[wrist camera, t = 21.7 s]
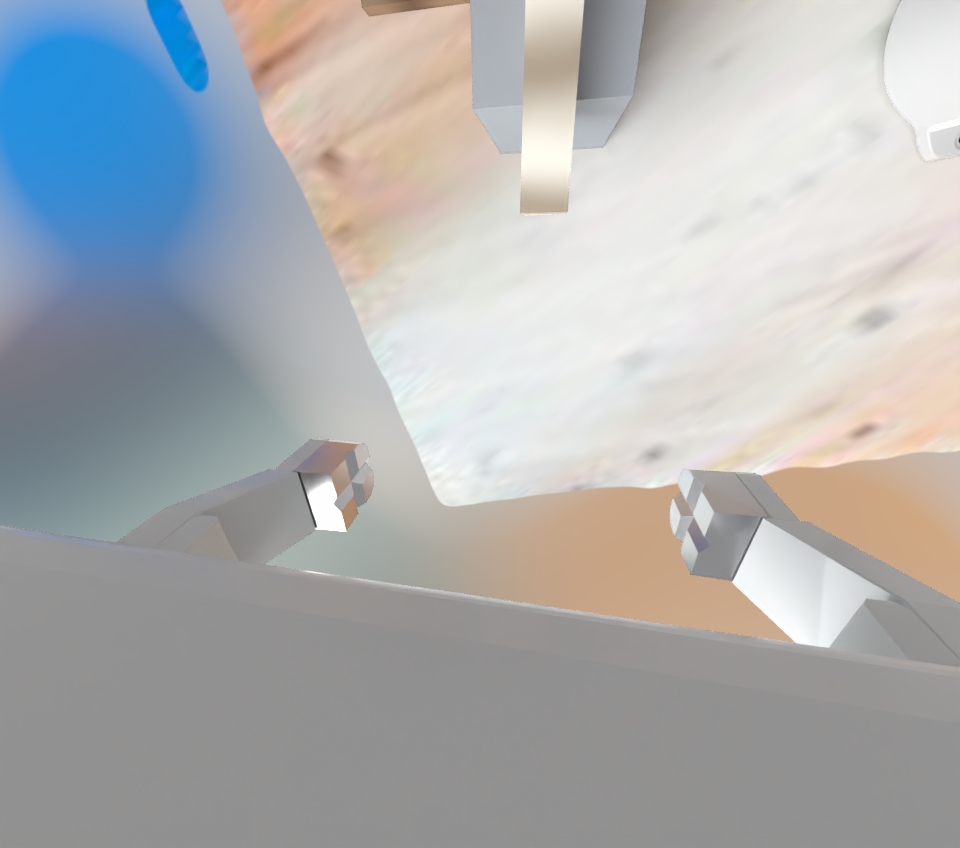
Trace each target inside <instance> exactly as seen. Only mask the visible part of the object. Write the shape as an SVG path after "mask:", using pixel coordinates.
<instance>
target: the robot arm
mask: <svg viewBox="0 0 960 848" xmlns="http://www.w3.org/2000/svg"><path fill="white" fill-rule="evenodd" d="M884 80H885V86H886V90H887V93H888V96H889V98H890V100H891V102H892V104H893V105H894V107H895V108H896V110H897V111H898V112H899V113H900V114H901V115H902V116H903V117H904V118H905V119H906V120H907V121H908V122H909V123H910V124H911V125H912V127H913V128H914V130H915V136H916V142H917V147H918V151H919V153H920V156H921V157H922V158H923V159H924V160H925V161H937V160H942V159H946V158H950V157H955V156H959V155H960V143H959V137H960V0H901V1H900V3H899V6H898V8H897V10H896V13H895V15H894V18H893V21H892V24H891V27H890V30H889V34H888V37H887V42H886V47H885V53H884ZM369 457H370V456H369V451H368V447H367V446H366V445H365V444H364V443H357V442H347V441H338V440H329V439H310V440H309V441H308V442H307V443H305V444H304V445H303V446H302V447H300V448H299V449H298V450H297V451H296V452H295V453H293V454H292V455H291V456H290V457H289V458H287V459H286V460H285V461H284V462H283V463H282V464H281V465H279V466H278V467H277V468H276V469H274V470H266V471H263V472H261V473H258V474H255V475H252V476H250V477H247V478H244V479H242V480H239V481H236V482H234V483H231V484H228V485H226V486H223V487H220V488H217V489H215V490H212V491H209V492H207V493H204V494H201V495H199V496H196V497H193V498H191V499H188V500H186V501H183V502H180V503H177V504H175V505H172V506H169V507H167V508H164V509H163V510H161V511H160V512H158V513H157V514H155V515H154V516H153V517H151V518H150V519H148V520H147V521H146V522H144V523H143V524H141V525H140V526H138V527H137V528H136V529H134V530H133V531H131V532H130V533H128V534H127V535H126V536H124V537H123V538H121V539H120V540H119V541H117V542H109V541H102V540H95V539H89V538H82V537H75V536H68V535H62V534H55V533H48V532H42V531H35V530H28V529H22V528H15V527H8V526H1V525H0V848H960V603H959V602H957V601H955V600H953V599H951V598H949V597H948V596H946V595H944V594H942V593H940V592H938V591H936V590H935V589H932V588H931V587H929V586H927V585H925V584H923V583H922V582H920V581H918V580H916V579H914V578H912V577H910V576H909V575H907V574H905V573H903V572H901V571H899V570H897V569H895V568H894V567H891V566H890V565H888V564H886V563H884V562H882V561H881V560H879V559H877V558H875V557H873V556H871V555H869V554H867V553H865V552H864V551H862V550H860V549H858V548H856V547H854V546H852V545H851V544H849V543H847V542H845V541H843V540H841V539H839V538H838V537H836V536H834V535H832V534H830V533H828V532H826V531H824V530H823V529H821V528H819V527H817V526H815V525H813V524H811V523H809V522H803V521H800V520H799V519H798V518H797V517H796V516H795V515H794V513H793V512H792V511H791V510H790V509H789V508H788V507H787V506H786V504H785V503H784V502H783V501H782V500H781V499H780V498H779V496H778V495H777V494H776V493H775V492H774V491H773V489H772V488H771V487H770V486H769V485H768V484H767V482H766V481H765V480H764V479H763V478H762V477H761V476H760V475H758V474H756V473H744V472H720V471H704V470H687V469H684V470H683V471H682V473H681V474H680V476H679V479H678V483H677V484H678V486H679V488H680V490H681V492H680V493H679V494H677V495H676V496H675V497H673V500H672V503H671V507H670V523H671V528H672V531H673V534H674V536H675V537H676V538H677V539H679V540H680V541H681V542H682V543H683V545H682V548H681V554H682V556H683V558H684V561H685V563H686V566H687V568H688V570H689V573H690V575H696V576H703V577H710V578H716V579H723V580H730V581H733V584H734V585H735V586H736V587H737V588H738V589H739V590H741V591H742V592H743V593H744V594H745V595H746V596H747V597H748V598H749V599H750V600H751V601H752V602H753V603H754V604H755V605H756V606H758V607H759V608H760V609H761V610H762V611H763V612H764V613H765V614H766V615H767V616H768V617H769V618H770V619H771V620H772V621H773V622H775V623H776V624H777V625H778V626H779V627H780V628H781V629H782V630H783V631H784V632H785V633H786V634H787V635H788V636H789V637H790V638H791V639H793V640H794V641H795V642H796V643H792V642H785V641H778V640H772V639H764V638H758V637H751V636H744V635H737V634H730V633H724V632H716V631H710V630H703V629H696V628H689V627H682V626H675V625H669V624H662V623H656V622H649V621H642V620H636V619H629V618H622V617H616V616H609V615H602V614H595V613H589V612H582V611H576V610H568V609H562V608H556V607H549V606H541V605H536V604H529V603H522V602H515V601H508V600H501V599H495V598H488V597H481V596H474V595H468V594H461V593H453V592H447V591H440V590H434V589H426V588H420V587H413V586H406V585H399V584H393V583H386V582H379V581H372V580H366V579H358V578H351V577H345V576H338V575H332V574H324V573H318V572H312V571H305V570H298V569H291V568H285V567H277V566H270V565H265V564H266V563H268V562H269V561H271V560H272V559H274V558H275V557H277V556H278V555H280V554H281V553H283V552H284V551H286V550H287V549H289V548H290V547H292V546H293V545H295V544H296V543H298V542H299V541H301V540H302V539H303V538H305V537H307V536H308V535H310V534H311V533H313V532H314V531H316V529H325V530H335V531H347V529H348V528H349V527H350V525H351V524H352V522H353V521H354V519H355V518H356V517H357V515H358V510H357V507H359V506H361V505H363V504H364V503H366V502H367V500H368V499H369V497H370V496H371V493H372V490H373V486H374V475H373V470H372V469H371V468H370V467H369V466H368V464H366V462H367V461H368V459H369Z"/></svg>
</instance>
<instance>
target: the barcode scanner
mask: <svg viewBox="0 0 960 848" xmlns="http://www.w3.org/2000/svg"><path fill="white" fill-rule="evenodd" d="M583 10H584V0H525V39H524V79H523V118H522V158H521V198H520V214H522V215H547V214H566V213H567V211H568V198H569V186H570V173H571V161H572V148H573V135H574V123H575V110H576V98H577V85H578V72H579V60H580V47H581V35H582V22H583Z"/></svg>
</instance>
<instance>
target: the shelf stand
mask: <svg viewBox="0 0 960 848" xmlns="http://www.w3.org/2000/svg"><path fill="white" fill-rule="evenodd" d="M464 3H470V0H361V4H362V8H363V9H364V10H365V12H366V13H367V14H368V15H369V16H375V15H383V14H390V13H398V12H405V11H412V10H420V9H427V8H434V7H442V6H449V5H457V4H464Z"/></svg>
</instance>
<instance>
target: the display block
mask: <svg viewBox="0 0 960 848" xmlns="http://www.w3.org/2000/svg"><path fill="white" fill-rule="evenodd" d="M646 1H647V0H584V10H583V22H582V35H581V47H580V60H579V72H578V85H577V98H576V110H575V123H574V135H573V148H572V149H587V148H603V146H604V144H605V142H606V141H607V139H608V137H609V136H610V134H611V132H612V131H613V129H614V127H615V126H616V124H617V122H618V120H619V119H620V117H621V115H622V114H623V112H624V110H625V109H626V107H627V105H628V104H629V102H630V100H631V99H632V97H633V94H634V87H635V80H636V73H637V66H638V58H639V51H640V44H641V37H642V30H643V23H644V15H645V8H646ZM470 10H471V52H472V94H473V110H474V112H475V113H476V115H477V116H478V118H479V120H480V121H481V123H482V124H483V126H484V128H485V129H486V131H487V132H488V134H489V135H490V137H491V139H492V140H493V142H494V143H495V145H496V147H497V148H498V150H499V151H500V153H501V154H507V153H522V118H523V79H524V39H525V0H470Z"/></svg>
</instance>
